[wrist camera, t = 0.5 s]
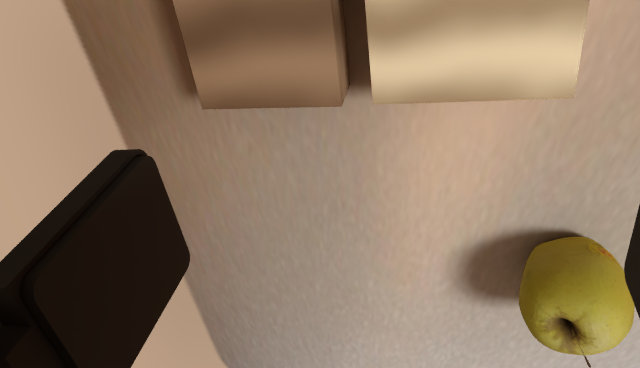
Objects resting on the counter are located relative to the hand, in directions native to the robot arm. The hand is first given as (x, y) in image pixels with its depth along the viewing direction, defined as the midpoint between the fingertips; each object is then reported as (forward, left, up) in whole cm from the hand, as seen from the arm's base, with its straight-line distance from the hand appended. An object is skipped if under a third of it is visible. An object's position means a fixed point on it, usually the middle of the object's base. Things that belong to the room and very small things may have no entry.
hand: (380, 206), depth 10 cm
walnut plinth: (+3, -10, -26) cm, 28 cm away
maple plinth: (+3, +3, -26) cm, 26 cm away
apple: (+25, +11, -26) cm, 37 cm away
